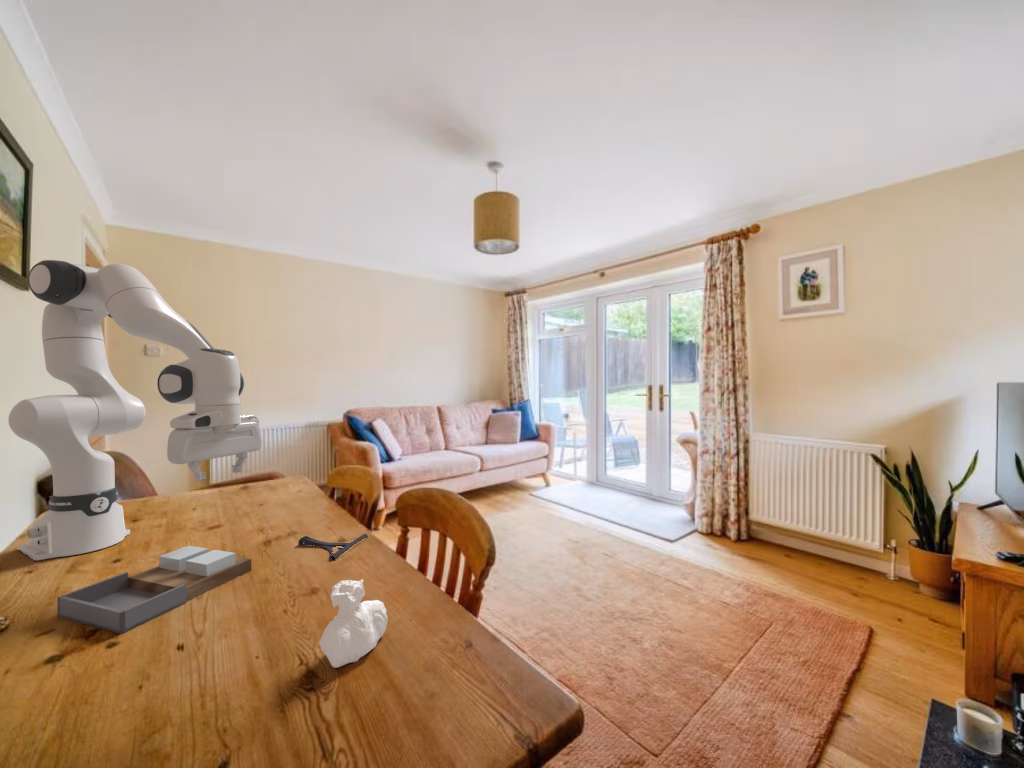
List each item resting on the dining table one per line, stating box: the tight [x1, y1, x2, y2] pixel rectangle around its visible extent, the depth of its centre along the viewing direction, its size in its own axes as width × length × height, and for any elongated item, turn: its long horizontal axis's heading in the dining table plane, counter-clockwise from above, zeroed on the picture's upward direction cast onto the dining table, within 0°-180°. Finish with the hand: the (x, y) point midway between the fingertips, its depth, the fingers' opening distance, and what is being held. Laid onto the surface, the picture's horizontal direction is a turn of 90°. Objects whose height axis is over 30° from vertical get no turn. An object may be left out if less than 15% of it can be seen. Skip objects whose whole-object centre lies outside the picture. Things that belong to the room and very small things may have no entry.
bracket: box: [297, 533, 369, 560], centre depth 105 cm, size 14×15×3 cm
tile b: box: [186, 549, 236, 576], centre depth 87 cm, size 6×6×2 cm
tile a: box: [158, 545, 209, 571], centre depth 90 cm, size 6×6×2 cm
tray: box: [56, 571, 187, 635], centre depth 76 cm, size 17×10×4 cm, turn 72°
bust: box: [318, 579, 389, 669], centre depth 64 cm, size 12×8×11 cm
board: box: [128, 555, 252, 602], centre depth 87 cm, size 16×14×2 cm
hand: (219, 476), depth 97 cm, fingers open, 8 cm apart
